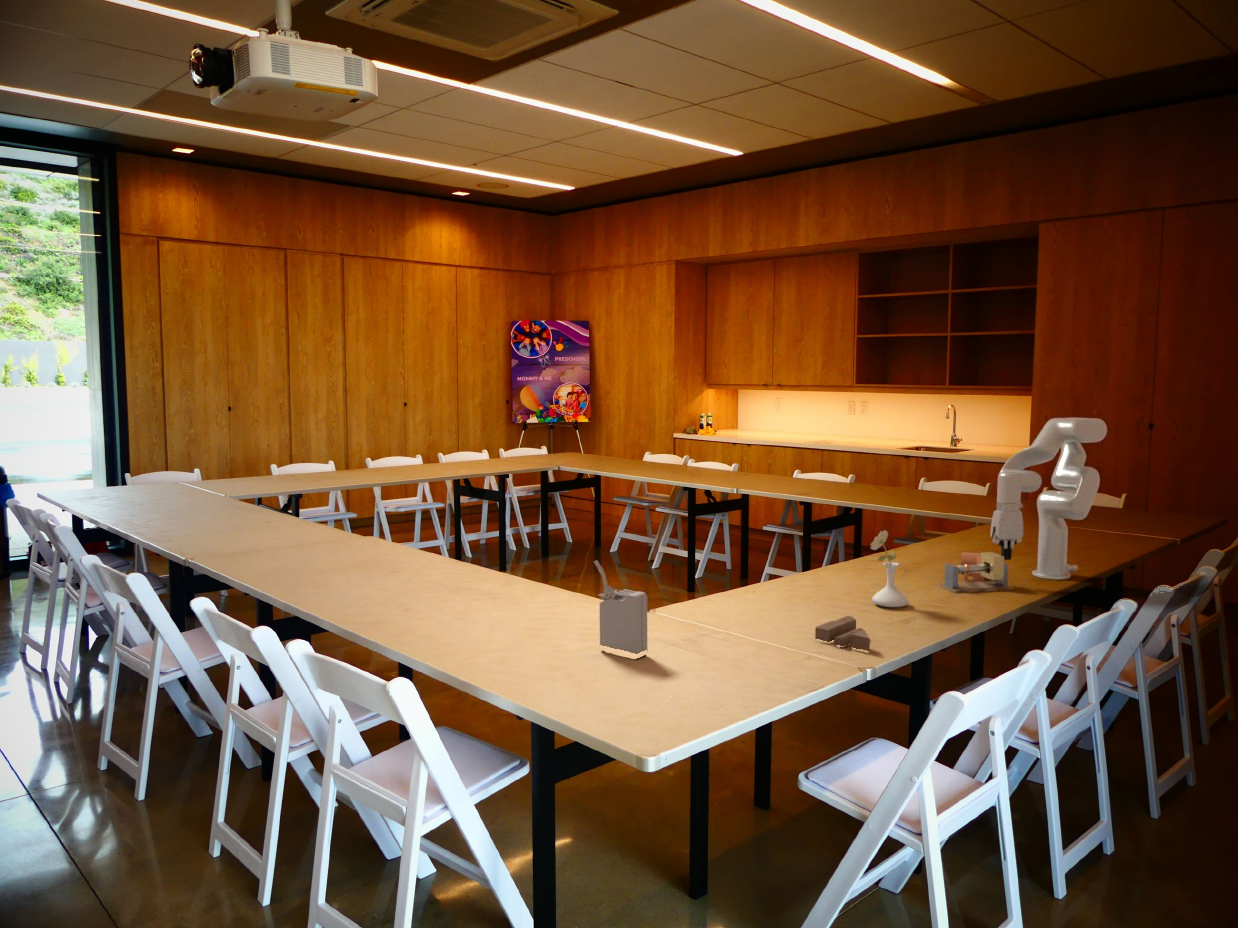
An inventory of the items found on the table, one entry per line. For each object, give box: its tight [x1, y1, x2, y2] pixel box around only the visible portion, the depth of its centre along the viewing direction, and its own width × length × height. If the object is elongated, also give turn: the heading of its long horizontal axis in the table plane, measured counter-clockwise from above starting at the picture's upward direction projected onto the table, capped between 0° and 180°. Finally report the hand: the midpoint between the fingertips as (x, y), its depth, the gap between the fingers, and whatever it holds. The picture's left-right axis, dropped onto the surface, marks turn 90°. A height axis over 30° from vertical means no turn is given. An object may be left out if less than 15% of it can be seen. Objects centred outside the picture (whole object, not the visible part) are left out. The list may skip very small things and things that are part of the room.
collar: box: [980, 551, 1005, 581], centre depth 305 cm, size 4×7×8 cm, turn 11°
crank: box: [960, 551, 985, 582], centre depth 321 cm, size 20×8×8 cm, turn 158°
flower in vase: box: [870, 529, 910, 608], centre depth 281 cm, size 13×11×25 cm
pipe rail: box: [944, 562, 1009, 589], centre depth 304 cm, size 21×5×8 cm, turn 101°
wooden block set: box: [814, 615, 871, 651], centre depth 246 cm, size 17×6×18 cm
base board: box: [938, 580, 1014, 594], centre depth 305 cm, size 22×10×1 cm, turn 101°
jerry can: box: [593, 559, 648, 654], centre depth 236 cm, size 15×5×25 cm, turn 51°
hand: (1006, 558), depth 306 cm, fingers closed
